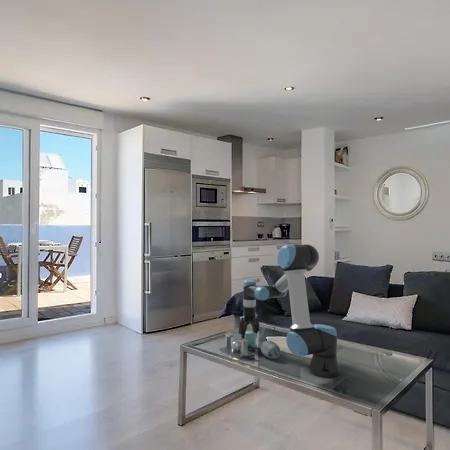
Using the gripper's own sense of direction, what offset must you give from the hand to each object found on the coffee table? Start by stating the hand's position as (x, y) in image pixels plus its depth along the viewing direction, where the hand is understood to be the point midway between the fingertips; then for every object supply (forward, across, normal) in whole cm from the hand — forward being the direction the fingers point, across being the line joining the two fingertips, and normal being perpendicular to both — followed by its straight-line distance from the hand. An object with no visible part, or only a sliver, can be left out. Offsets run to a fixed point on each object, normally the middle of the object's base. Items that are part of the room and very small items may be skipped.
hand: (249, 344), depth 228 cm
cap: (0, 0, 0) cm, 0 cm away
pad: (+2, 0, 0) cm, 2 cm away
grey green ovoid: (+2, 0, +19) cm, 19 cm away
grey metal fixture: (+2, +12, +3) cm, 13 cm away
